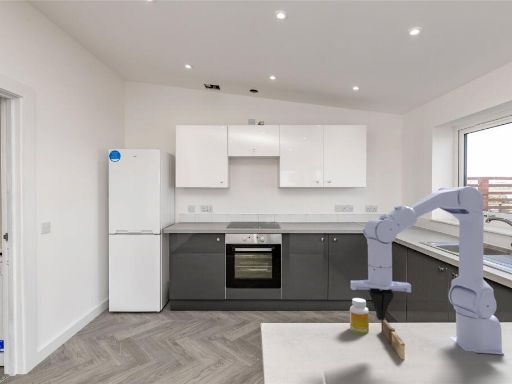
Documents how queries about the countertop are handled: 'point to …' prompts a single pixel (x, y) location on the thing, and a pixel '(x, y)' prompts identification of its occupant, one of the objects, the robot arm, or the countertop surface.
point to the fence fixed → (387, 330)
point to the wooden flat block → (398, 345)
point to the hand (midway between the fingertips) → (380, 318)
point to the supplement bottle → (359, 316)
